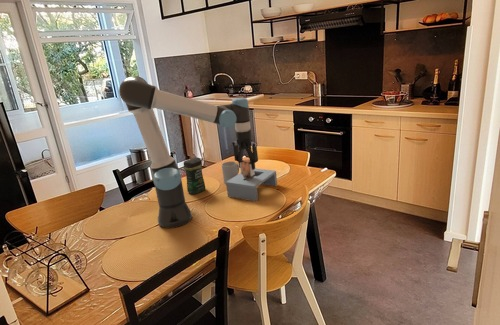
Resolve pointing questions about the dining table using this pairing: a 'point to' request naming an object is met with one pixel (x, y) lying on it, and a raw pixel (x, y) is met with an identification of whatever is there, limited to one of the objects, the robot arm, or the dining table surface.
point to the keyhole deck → (250, 184)
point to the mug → (229, 170)
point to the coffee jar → (194, 175)
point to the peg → (246, 169)
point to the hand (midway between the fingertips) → (247, 174)
